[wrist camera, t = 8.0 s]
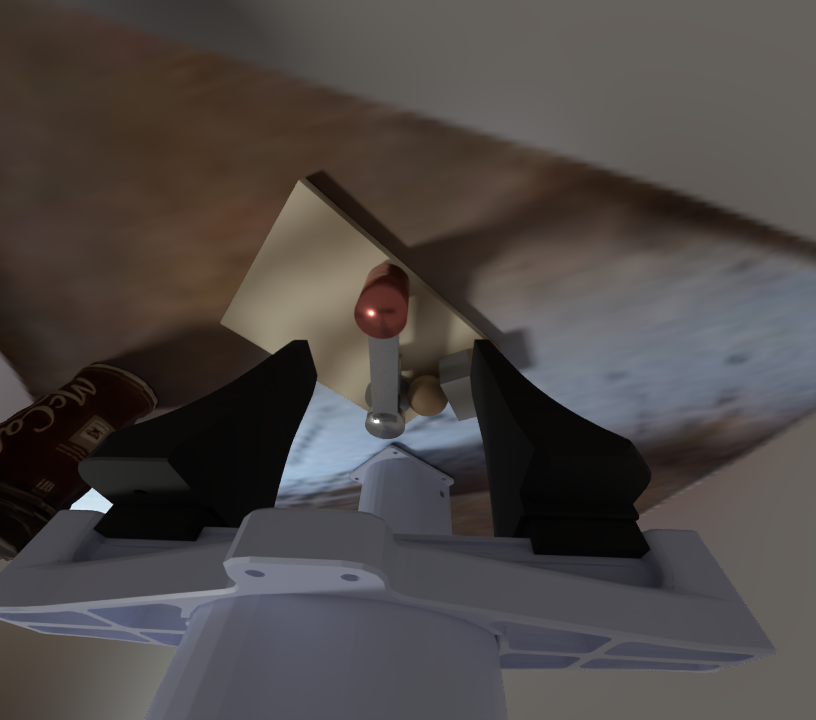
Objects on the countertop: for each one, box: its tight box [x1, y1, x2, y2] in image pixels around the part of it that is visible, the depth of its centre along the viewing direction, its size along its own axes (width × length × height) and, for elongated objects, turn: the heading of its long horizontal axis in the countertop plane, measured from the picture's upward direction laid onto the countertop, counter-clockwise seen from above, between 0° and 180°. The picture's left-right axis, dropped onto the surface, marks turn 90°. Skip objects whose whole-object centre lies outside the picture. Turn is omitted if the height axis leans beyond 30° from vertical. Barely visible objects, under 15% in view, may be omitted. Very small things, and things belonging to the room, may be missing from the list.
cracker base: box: [220, 178, 500, 424], centre depth 22 cm, size 18×12×4 cm, turn 49°
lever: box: [354, 263, 410, 439], centre depth 21 cm, size 13×3×4 cm, turn 178°
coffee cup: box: [0, 364, 158, 561], centre depth 23 cm, size 9×8×13 cm
